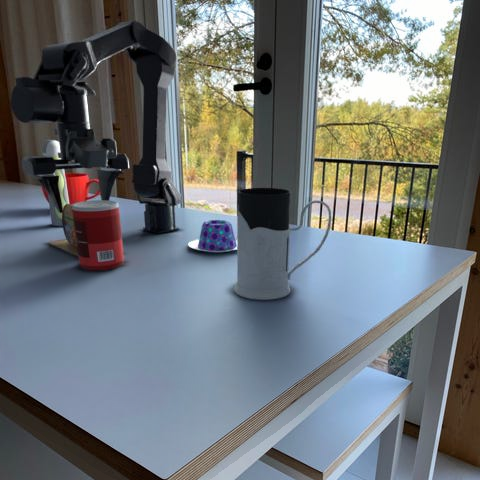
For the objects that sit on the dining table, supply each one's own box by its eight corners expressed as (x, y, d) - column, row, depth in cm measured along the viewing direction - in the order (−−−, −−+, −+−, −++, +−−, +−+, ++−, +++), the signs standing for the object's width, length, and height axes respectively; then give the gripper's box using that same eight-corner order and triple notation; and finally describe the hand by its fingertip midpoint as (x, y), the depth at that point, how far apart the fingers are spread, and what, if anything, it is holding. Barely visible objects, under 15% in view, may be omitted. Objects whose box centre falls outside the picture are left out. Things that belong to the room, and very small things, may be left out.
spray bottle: (74, 225, 119) (63, 140, 111) (54, 227, 116) (41, 140, 108) (69, 222, 122) (57, 139, 115) (49, 224, 120) (36, 139, 112)
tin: (63, 241, 102) (57, 201, 99) (77, 239, 104) (72, 199, 101) (92, 255, 91) (87, 211, 88) (107, 252, 93) (103, 209, 90)
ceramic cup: (98, 215, 131) (94, 178, 127) (37, 215, 131) (31, 177, 127) (110, 207, 143) (107, 173, 139) (55, 207, 143) (49, 172, 139)
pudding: (258, 247, 99) (258, 222, 97) (216, 258, 90) (216, 231, 88) (217, 238, 106) (217, 214, 104) (176, 247, 98) (175, 222, 96)
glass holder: (235, 280, 78) (235, 187, 72) (321, 281, 78) (328, 187, 72) (233, 299, 70) (232, 195, 64) (329, 300, 70) (338, 196, 64)
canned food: (132, 261, 89) (126, 201, 84) (108, 273, 82) (100, 208, 78) (97, 257, 91) (90, 199, 87) (70, 268, 84) (61, 206, 80)
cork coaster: (79, 238, 106) (79, 237, 106) (120, 254, 93) (119, 252, 93) (48, 243, 101) (48, 242, 101) (86, 260, 89) (86, 259, 89)
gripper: (38, 123, 75) (53, 222, 81) (141, 123, 86) (147, 209, 92) (13, 122, 82) (29, 213, 88) (111, 122, 94) (118, 203, 100)
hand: (83, 209), depth 92 cm, fingers open, 9 cm apart
